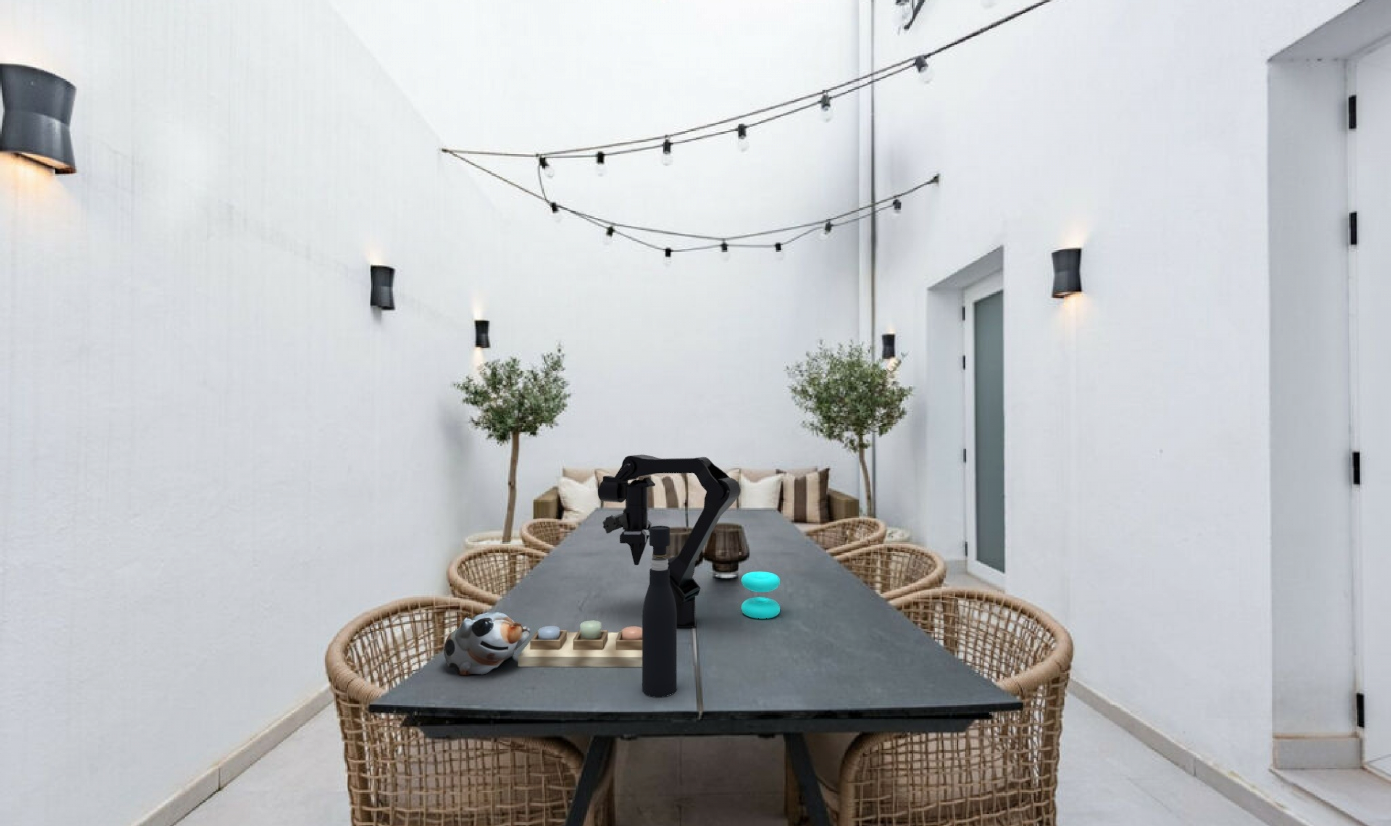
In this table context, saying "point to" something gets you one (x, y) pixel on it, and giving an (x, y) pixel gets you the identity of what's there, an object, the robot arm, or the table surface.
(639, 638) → the button terracotta
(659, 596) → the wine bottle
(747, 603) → the donuts
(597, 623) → the button sage
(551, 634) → the button slate
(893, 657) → the table surface
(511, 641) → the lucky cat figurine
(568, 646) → the button board
